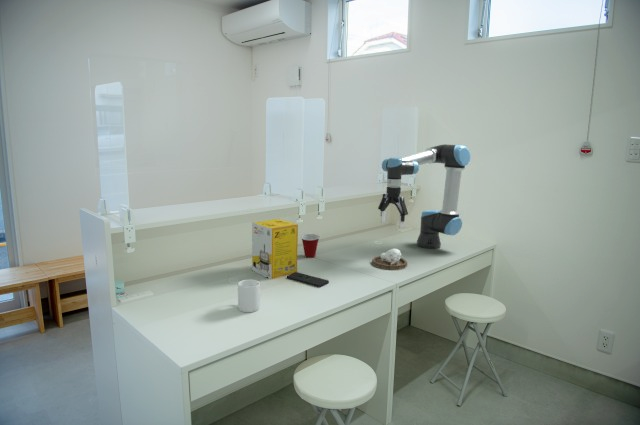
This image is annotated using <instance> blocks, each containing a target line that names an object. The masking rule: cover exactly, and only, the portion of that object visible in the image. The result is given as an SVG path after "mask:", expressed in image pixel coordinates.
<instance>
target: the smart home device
mask: <svg viewBox="0 0 640 425" xmlns="http://www.w3.org/2000/svg"><path fill="white" fill-rule="evenodd" d="M286 279H287V280H291V281H294V282H298V283H302V284H304V283H305V284H306V285H308V286H312V287H316V288H322V287H324V286H327V284H330V280H328V279H324V278H321V277H316V276H314V275H310V274H305V273H303V272H302V273H301V272H298V271H297V272H295V273H293V274H289V275H286Z"/></svg>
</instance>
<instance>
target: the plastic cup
mask: <svg viewBox="0 0 640 425" xmlns="http://www.w3.org/2000/svg"><path fill="white" fill-rule="evenodd" d="M300 238H301V241H302V242H301V243H302V247H303V254H304V257H305V256H306V257H305V258H308V257H309V259H311V258H315V257H316V253H317V248H318V244H319V239H320V235H318V234H316V233H307V234H303V235H300ZM310 257H311V258H310Z"/></svg>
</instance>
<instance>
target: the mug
mask: <svg viewBox="0 0 640 425" xmlns="http://www.w3.org/2000/svg"><path fill="white" fill-rule="evenodd" d="M237 306H238V307H237V308H238V310H239V311H240V312H243V313H255V312H257V311H259V309H260V306H261V282H260V281H259V280H257V279H243V280H241V281H239V282H237Z"/></svg>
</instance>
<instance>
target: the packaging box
mask: <svg viewBox="0 0 640 425" xmlns="http://www.w3.org/2000/svg"><path fill="white" fill-rule="evenodd" d="M298 227H299V225H298V223H294V222H292V221H287V220H285V219H284V220H283V219H280V218H277V219H270V220H269V219H268V220H262V221H255V222H254V221H253V222H251V243H252V244H251V250H252V253H251V256H252V257H251V259H252V260H251V261H252V262H251V270H253V272H254V271H255V272H254V273H257V274H259V275H261V276H262V277H266V278H267V277H268V278H267V279H269V278H270V280H273V279H276V278H280V277H284V276H288V275H290V274H293V273H295V272H298V245H299V244H298V239H299V238H298V234H299V232H298V230H299V228H298Z"/></svg>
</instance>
